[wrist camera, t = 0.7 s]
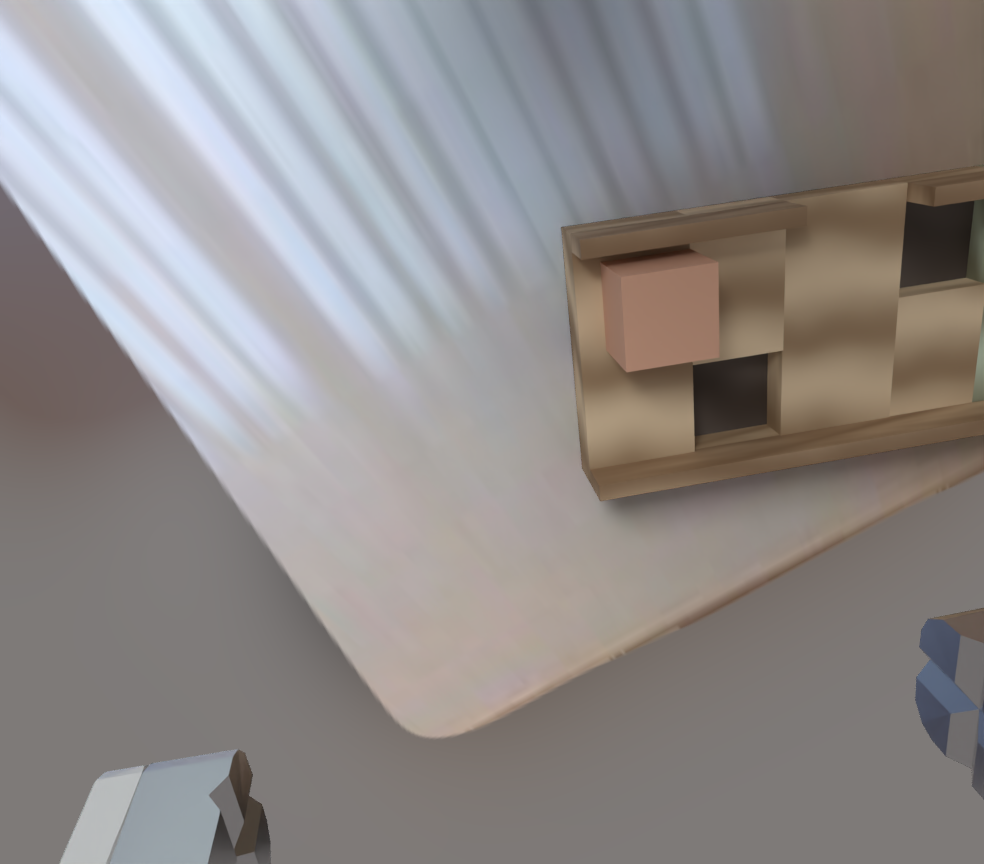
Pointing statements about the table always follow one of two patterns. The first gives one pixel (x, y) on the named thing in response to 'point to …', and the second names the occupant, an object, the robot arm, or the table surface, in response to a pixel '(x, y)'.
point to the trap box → (792, 333)
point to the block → (661, 309)
